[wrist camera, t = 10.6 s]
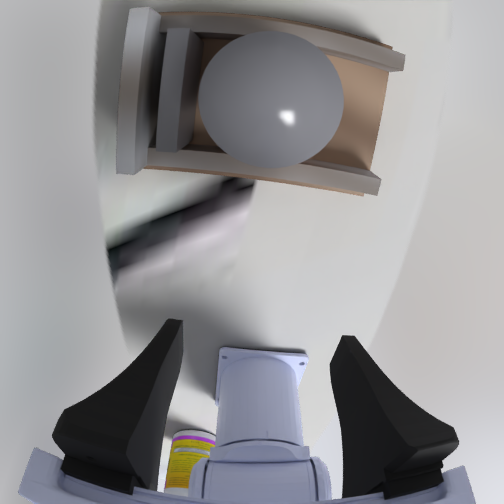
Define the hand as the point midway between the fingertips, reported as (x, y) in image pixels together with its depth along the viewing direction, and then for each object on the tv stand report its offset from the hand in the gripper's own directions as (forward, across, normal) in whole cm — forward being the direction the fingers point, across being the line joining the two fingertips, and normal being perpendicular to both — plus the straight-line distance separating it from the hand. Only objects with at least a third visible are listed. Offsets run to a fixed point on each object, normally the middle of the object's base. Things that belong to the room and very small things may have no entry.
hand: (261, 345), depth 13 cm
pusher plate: (+8, +5, -10) cm, 14 cm away
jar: (+8, +1, -10) cm, 13 cm away
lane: (+9, +1, -10) cm, 14 cm away
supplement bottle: (+10, +4, +30) cm, 32 cm away
